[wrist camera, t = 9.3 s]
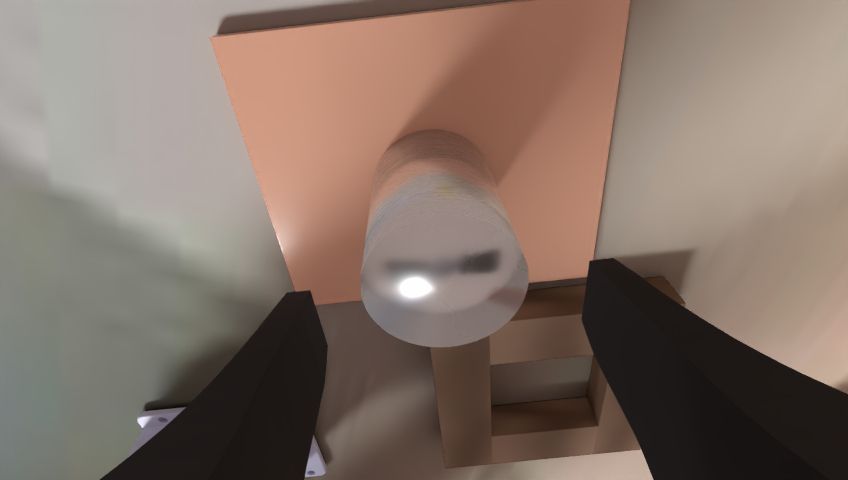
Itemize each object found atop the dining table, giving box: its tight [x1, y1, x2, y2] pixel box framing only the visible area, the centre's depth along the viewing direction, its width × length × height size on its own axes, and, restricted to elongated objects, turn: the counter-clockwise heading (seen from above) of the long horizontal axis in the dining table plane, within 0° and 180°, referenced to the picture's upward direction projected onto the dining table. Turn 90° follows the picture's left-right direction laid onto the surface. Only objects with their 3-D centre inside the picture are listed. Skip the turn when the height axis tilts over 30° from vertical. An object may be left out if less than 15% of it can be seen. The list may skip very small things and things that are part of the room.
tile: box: [210, 0, 631, 305], centre depth 18 cm, size 14×12×1 cm
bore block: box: [430, 277, 686, 468], centre depth 25 cm, size 12×12×2 cm
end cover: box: [360, 129, 529, 347], centre depth 15 cm, size 5×5×6 cm
